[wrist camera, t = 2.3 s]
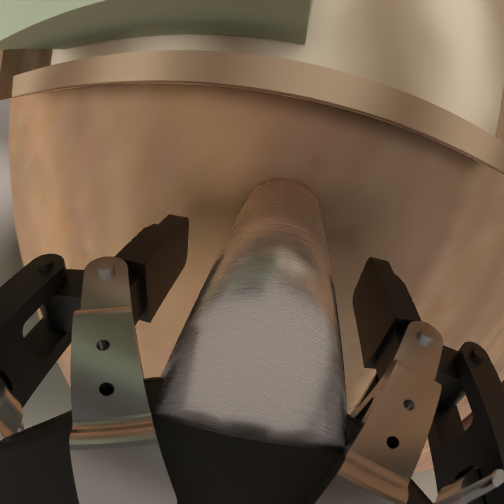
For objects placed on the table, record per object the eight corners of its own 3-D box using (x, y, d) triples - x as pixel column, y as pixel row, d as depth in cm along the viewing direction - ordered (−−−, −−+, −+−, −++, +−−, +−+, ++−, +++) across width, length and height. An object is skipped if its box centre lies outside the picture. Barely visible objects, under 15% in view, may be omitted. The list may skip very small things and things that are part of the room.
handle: (329, 188, 14) (391, 428, 3) (310, 256, 16) (308, 488, 5) (249, 171, 14) (121, 379, 3) (238, 241, 16) (153, 458, 5)
